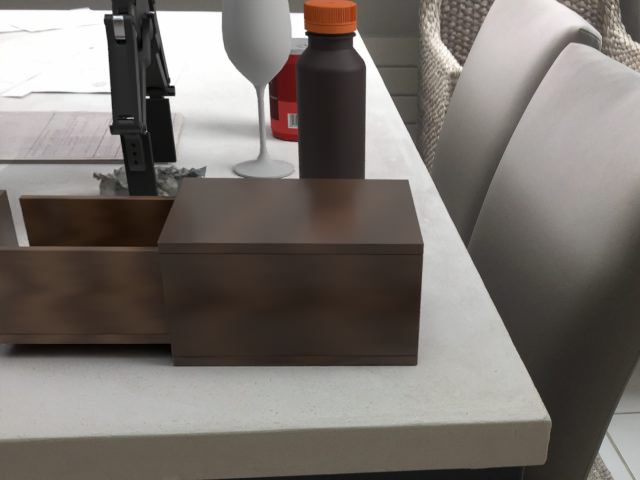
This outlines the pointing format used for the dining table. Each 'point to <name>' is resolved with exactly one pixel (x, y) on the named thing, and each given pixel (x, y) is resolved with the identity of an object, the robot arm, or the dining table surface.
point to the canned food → (286, 95)
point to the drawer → (83, 270)
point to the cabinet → (292, 272)
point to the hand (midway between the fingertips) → (155, 180)
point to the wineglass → (258, 63)
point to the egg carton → (165, 179)
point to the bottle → (331, 94)
